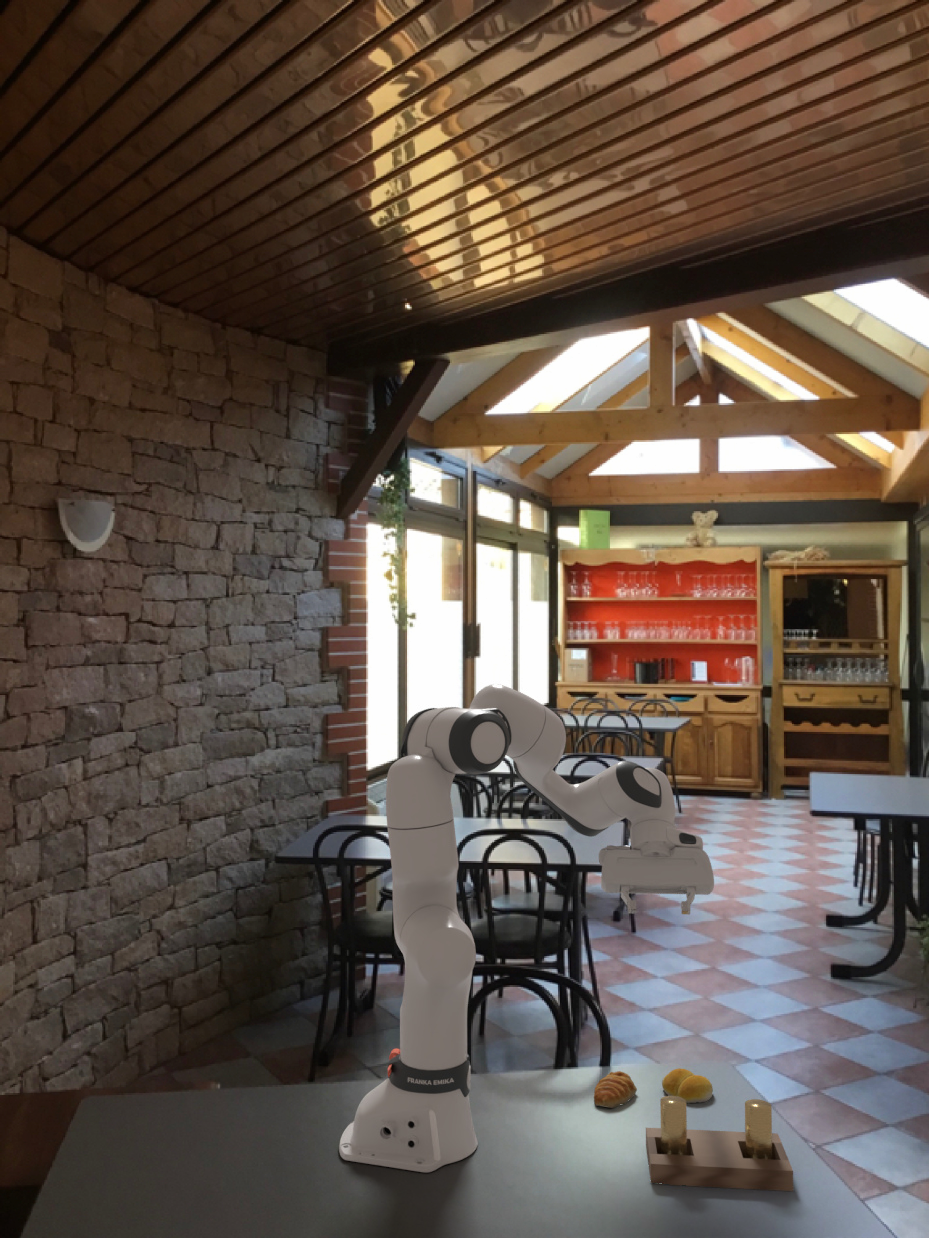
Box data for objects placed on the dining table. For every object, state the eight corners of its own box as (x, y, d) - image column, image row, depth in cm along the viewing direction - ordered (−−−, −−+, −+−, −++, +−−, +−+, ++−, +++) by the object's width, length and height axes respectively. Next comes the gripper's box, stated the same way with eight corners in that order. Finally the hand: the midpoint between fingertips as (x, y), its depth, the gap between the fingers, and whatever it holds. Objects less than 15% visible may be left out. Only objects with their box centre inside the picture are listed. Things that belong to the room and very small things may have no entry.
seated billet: (747, 1175, 159) (747, 1109, 160) (743, 1162, 163) (742, 1098, 164) (774, 1176, 159) (773, 1110, 159) (769, 1164, 163) (768, 1099, 163)
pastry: (620, 1114, 181) (619, 1092, 181) (584, 1106, 184) (584, 1084, 185) (638, 1094, 189) (638, 1073, 189) (604, 1087, 193) (603, 1066, 193)
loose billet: (662, 1171, 161) (661, 1106, 161) (660, 1158, 165) (659, 1095, 165) (688, 1172, 160) (687, 1107, 161) (685, 1159, 164) (685, 1096, 165)
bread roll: (695, 1109, 183) (695, 1086, 183) (655, 1093, 190) (655, 1071, 190) (723, 1095, 189) (722, 1073, 189) (682, 1080, 195) (682, 1059, 195)
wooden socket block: (650, 1183, 157) (650, 1163, 157) (645, 1146, 169) (645, 1127, 169) (793, 1191, 155) (793, 1170, 155) (778, 1152, 167) (777, 1133, 167)
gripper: (598, 835, 193) (600, 901, 183) (710, 837, 191) (718, 903, 181) (598, 855, 197) (599, 920, 187) (707, 856, 195) (715, 922, 185)
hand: (659, 912), depth 184 cm, fingers open, 8 cm apart
